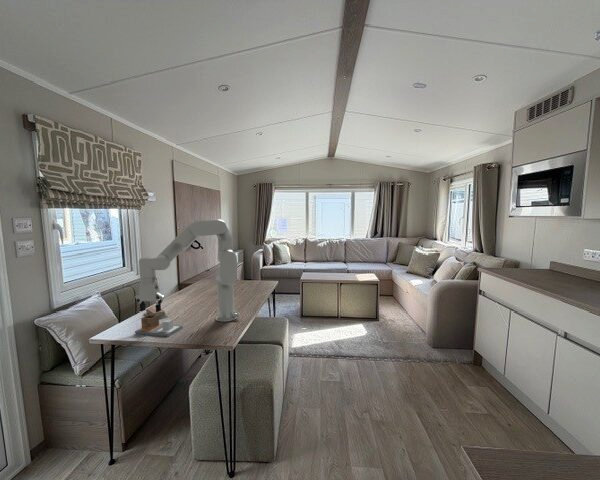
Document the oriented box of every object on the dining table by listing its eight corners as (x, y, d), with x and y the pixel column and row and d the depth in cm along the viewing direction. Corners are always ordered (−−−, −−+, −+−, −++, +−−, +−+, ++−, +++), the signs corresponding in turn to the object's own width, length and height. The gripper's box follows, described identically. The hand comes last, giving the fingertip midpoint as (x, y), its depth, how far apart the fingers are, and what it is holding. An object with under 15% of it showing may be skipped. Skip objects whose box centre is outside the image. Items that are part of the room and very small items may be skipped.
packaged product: (168, 310, 182) (151, 313, 175) (168, 317, 182) (151, 321, 176) (159, 304, 195) (142, 307, 189) (159, 311, 196) (143, 314, 189)
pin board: (182, 328, 163) (182, 317, 162) (168, 336, 151) (167, 325, 151) (151, 325, 167) (150, 315, 167) (135, 334, 155) (134, 322, 155)
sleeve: (159, 325, 163) (158, 315, 162) (151, 329, 157) (150, 318, 156) (149, 325, 164) (149, 314, 163) (141, 329, 158) (141, 318, 157)
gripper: (166, 278, 160) (169, 309, 162) (139, 278, 164) (142, 308, 165) (157, 281, 153) (159, 314, 154) (129, 281, 157) (131, 312, 158)
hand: (150, 311), depth 160 cm, fingers open, 9 cm apart
